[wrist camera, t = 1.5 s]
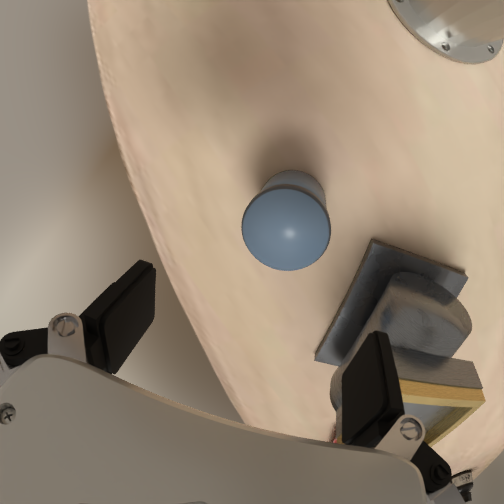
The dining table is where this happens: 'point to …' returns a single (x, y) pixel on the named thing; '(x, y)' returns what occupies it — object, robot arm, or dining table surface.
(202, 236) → the dining table surface
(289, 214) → the blue rounded cylinder
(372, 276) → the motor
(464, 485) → the ink bottle
